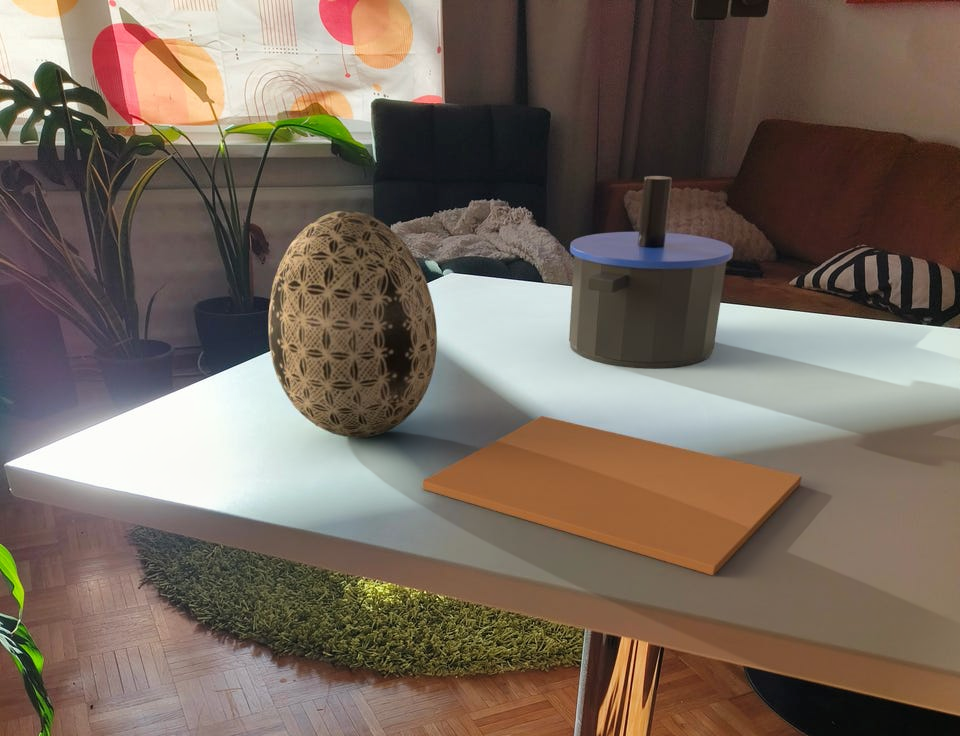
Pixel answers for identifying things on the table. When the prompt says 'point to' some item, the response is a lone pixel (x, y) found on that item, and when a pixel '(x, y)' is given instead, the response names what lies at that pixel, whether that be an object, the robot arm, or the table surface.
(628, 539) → the cork mat
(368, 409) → the decorative egg
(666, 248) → the blue lid
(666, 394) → the table surface
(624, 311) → the pot
